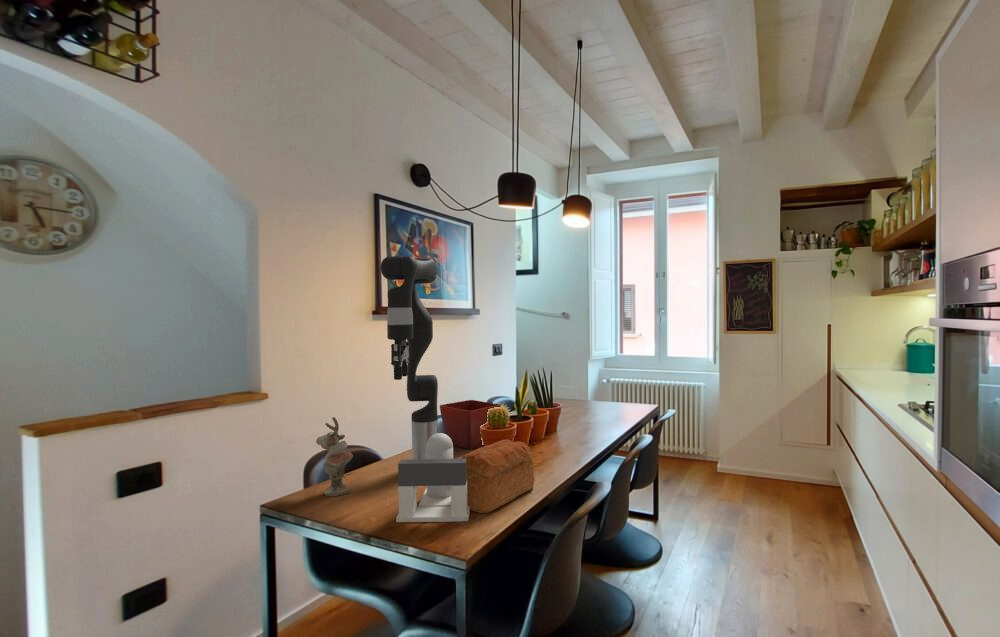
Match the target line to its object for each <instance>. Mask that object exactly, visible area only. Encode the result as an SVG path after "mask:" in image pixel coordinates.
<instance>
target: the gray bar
mask: <svg viewBox="0 0 1000 637" xmlns="http://www.w3.org/2000/svg"><path fill="white" fill-rule="evenodd" d="M397 470H398V471H397V473H398V474H397V475H398V477H397V480H398V481H397V482H398V487H399V486H417V487H427V486H451V485H466V482H467V459H460V458H453V459H412V458H410V459H400V460H399V462H398V463H397Z"/></svg>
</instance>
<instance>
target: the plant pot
mask: <svg viewBox="0 0 1000 637" xmlns="http://www.w3.org/2000/svg"><path fill="white" fill-rule="evenodd" d="M501 406H502V405H501V404H499V403H493V402H488V401H481V400H476V399H475V400H474V399H468V400H467V399H466V400H462V401H456V402H455V401H454V402H449V403H445V404H440V405H439V410H440V417H441V420H442V425H443V428H444V431H445V434H446V435H448V436H449V437H450V438H451V440H452V443H453V446H455V447H458V448H462V449H465V448H466V449H467V450H473V448H474V449H478V448H481V447H483V446H482V440H481V434H480V426H481V425H483V424H485V423H486V422H487V412H488V409H490V408H494V407H501Z"/></svg>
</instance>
